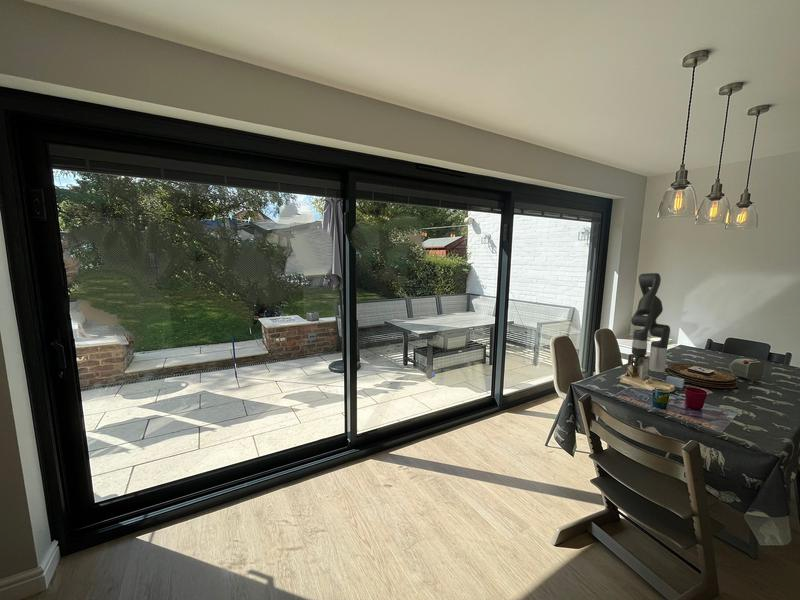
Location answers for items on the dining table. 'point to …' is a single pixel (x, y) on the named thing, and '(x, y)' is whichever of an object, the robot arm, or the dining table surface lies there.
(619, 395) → the dining table surface
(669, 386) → the jig
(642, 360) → the coffee box
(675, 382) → the wing block
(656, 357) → the robot arm
